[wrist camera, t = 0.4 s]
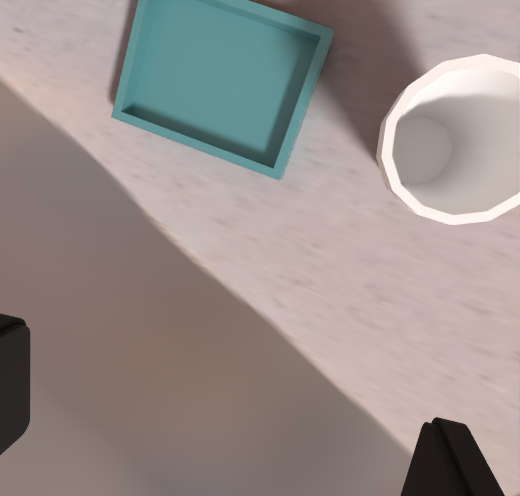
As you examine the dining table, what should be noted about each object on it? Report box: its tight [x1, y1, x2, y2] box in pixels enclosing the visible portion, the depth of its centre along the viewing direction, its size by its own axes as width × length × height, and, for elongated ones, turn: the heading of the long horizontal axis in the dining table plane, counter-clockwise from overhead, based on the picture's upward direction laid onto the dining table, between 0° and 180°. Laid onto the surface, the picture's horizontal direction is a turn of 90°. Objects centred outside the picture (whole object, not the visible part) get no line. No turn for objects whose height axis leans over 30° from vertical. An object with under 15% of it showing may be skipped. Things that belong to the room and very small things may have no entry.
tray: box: [111, 0, 334, 180], centre depth 34 cm, size 13×17×2 cm
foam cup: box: [376, 54, 520, 225], centre depth 28 cm, size 10×9×13 cm
